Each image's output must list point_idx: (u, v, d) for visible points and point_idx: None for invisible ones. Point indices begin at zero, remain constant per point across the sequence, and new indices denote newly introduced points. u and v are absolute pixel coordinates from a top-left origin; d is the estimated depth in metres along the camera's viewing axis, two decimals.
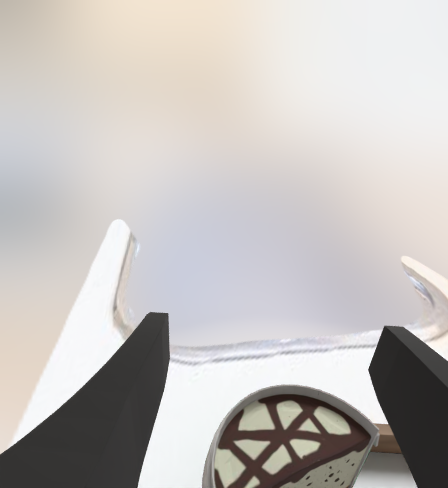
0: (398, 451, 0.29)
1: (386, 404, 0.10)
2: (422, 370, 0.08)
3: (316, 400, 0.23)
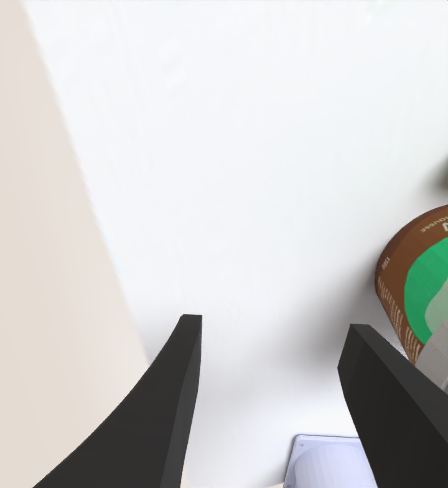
0: None
1: (351, 402, 0.10)
2: (381, 368, 0.08)
3: None
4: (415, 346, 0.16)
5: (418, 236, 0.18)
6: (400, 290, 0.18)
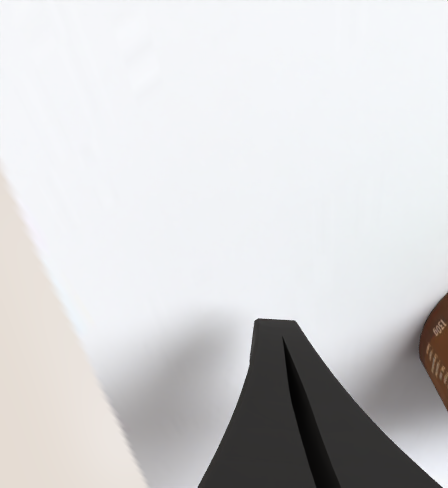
0: None
1: None
2: (290, 362, 0.08)
3: None
4: None
5: None
6: None
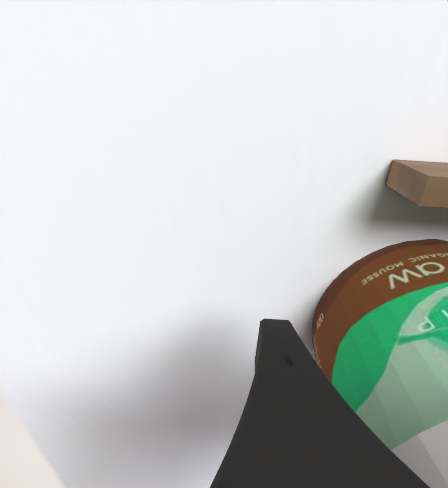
0: None
1: None
2: (282, 362, 0.08)
3: None
4: None
5: (357, 290, 0.13)
6: (329, 371, 0.12)
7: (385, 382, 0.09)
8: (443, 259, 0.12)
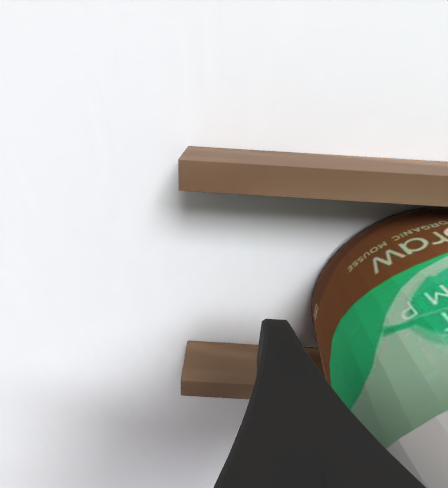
0: None
1: None
2: (279, 361, 0.08)
3: None
4: None
5: (344, 279, 0.12)
6: (327, 365, 0.12)
7: (374, 378, 0.09)
8: (427, 232, 0.11)
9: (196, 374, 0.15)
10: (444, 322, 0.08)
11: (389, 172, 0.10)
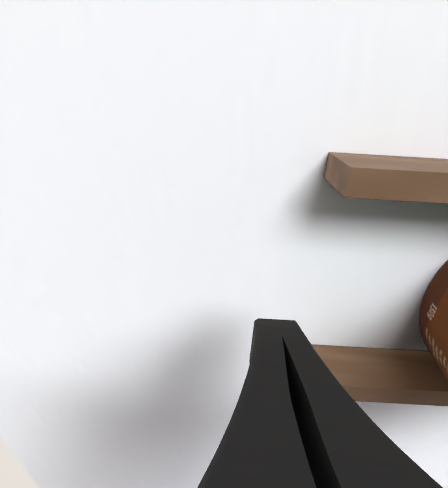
0: None
1: None
2: (290, 362, 0.08)
3: None
4: None
5: None
6: None
7: None
8: None
9: None
10: None
11: None
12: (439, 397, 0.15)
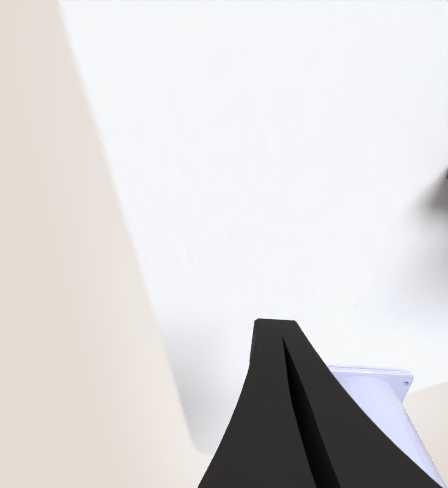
0: None
1: None
2: (290, 362, 0.08)
3: None
4: None
5: None
6: None
7: None
8: None
9: None
10: None
11: None
12: None
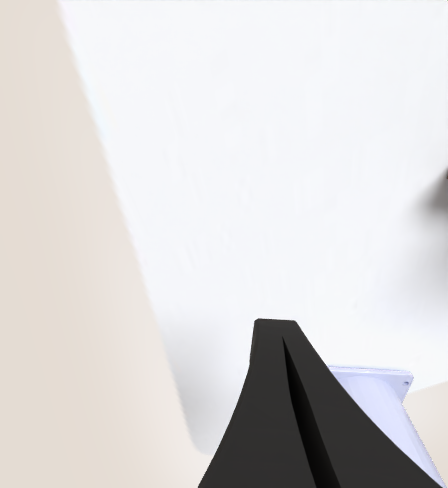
0: None
1: None
2: (290, 362, 0.08)
3: None
4: None
5: None
6: None
7: None
8: None
9: None
10: None
11: None
12: None
